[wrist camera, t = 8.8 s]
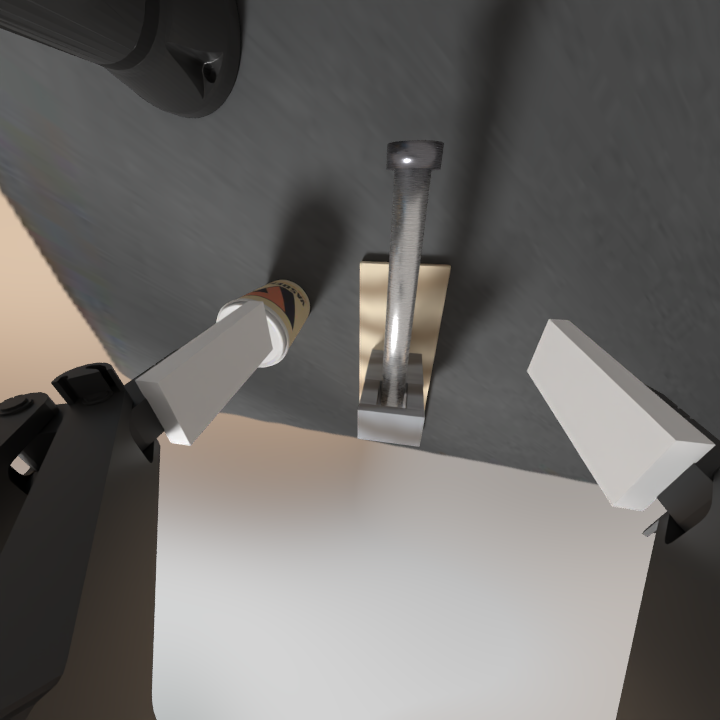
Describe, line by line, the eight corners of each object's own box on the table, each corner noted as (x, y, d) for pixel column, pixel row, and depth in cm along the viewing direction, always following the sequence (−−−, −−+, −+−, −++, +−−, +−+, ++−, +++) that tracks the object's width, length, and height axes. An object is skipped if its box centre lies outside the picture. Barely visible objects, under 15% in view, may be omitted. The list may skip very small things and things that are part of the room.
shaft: (389, 148, 23) (385, 140, 20) (441, 147, 23) (446, 139, 19) (377, 392, 38) (373, 414, 35) (408, 396, 38) (407, 418, 34)
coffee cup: (324, 293, 41) (296, 327, 31) (303, 339, 46) (273, 380, 36) (268, 261, 39) (220, 286, 30) (253, 312, 45) (207, 347, 35)
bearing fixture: (361, 261, 37) (335, 298, 24) (449, 264, 36) (471, 307, 23) (360, 423, 55) (344, 494, 42) (419, 430, 53) (422, 507, 40)
